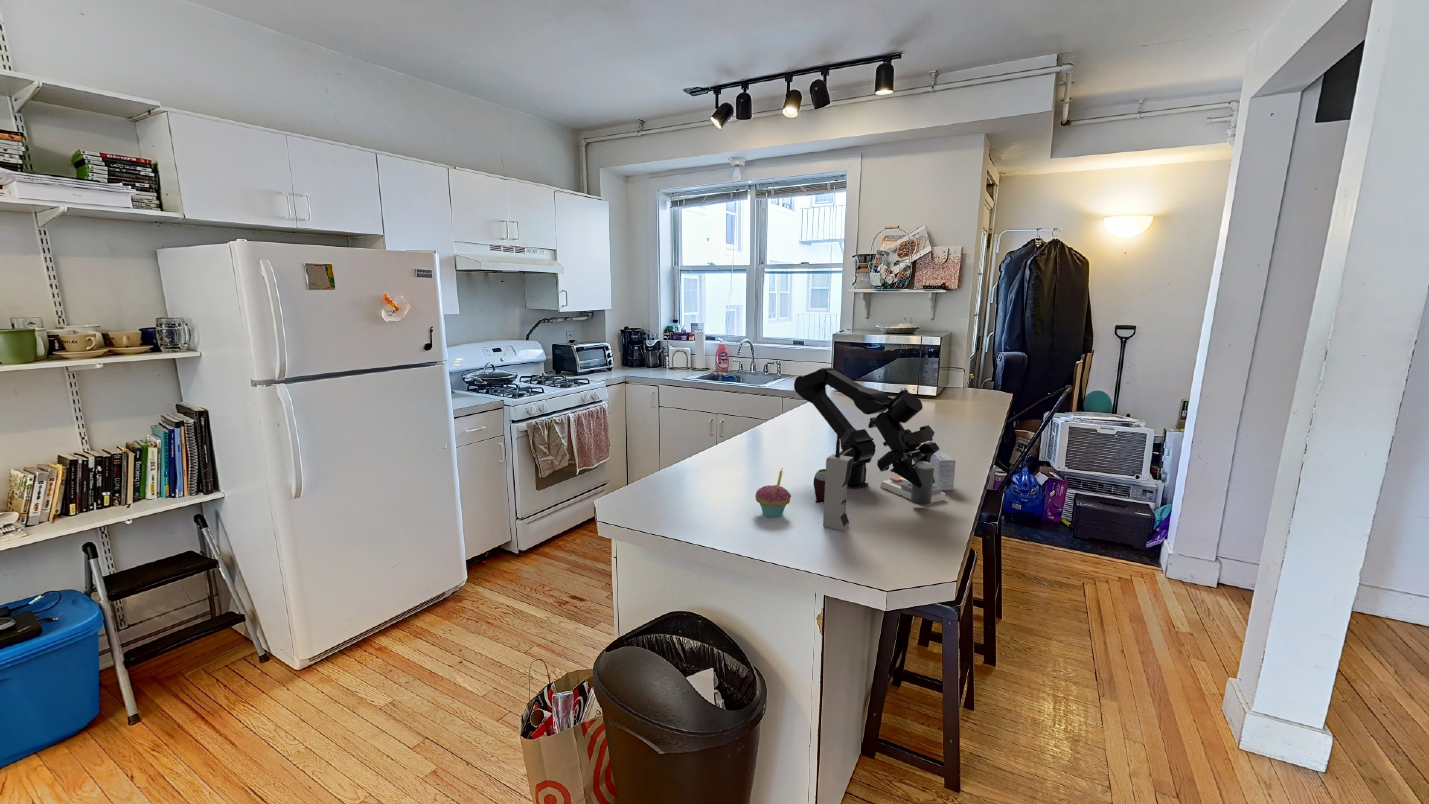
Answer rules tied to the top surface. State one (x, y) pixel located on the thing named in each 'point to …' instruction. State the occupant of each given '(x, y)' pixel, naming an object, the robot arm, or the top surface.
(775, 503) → the cupcake
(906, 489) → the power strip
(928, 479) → the grey cylinder
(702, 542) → the top surface
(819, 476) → the mate gourd
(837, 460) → the vintage mobile phone
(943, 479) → the medicine box
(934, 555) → the top surface
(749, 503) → the top surface
